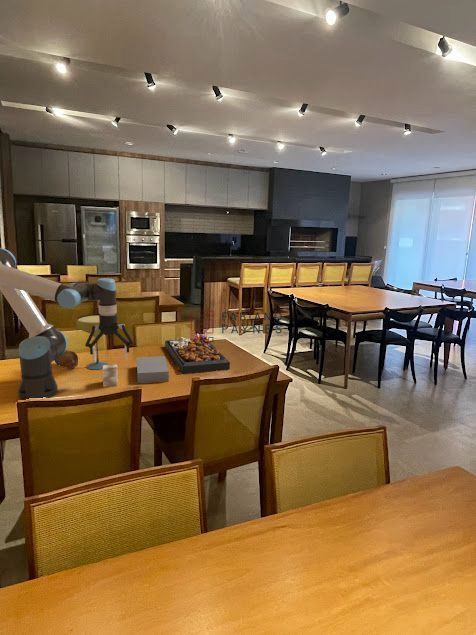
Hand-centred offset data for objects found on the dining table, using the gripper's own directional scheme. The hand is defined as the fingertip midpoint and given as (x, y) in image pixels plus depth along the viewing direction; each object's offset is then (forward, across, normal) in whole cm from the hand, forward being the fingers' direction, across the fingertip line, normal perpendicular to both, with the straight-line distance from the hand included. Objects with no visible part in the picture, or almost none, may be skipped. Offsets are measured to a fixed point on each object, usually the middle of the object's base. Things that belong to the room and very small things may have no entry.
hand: (110, 360), depth 187 cm
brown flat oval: (+11, -22, +26) cm, 36 cm away
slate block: (+11, +18, +9) cm, 24 cm away
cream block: (+11, 0, 0) cm, 11 cm away
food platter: (+13, +43, +31) cm, 54 cm away
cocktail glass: (+11, -8, +24) cm, 28 cm away
